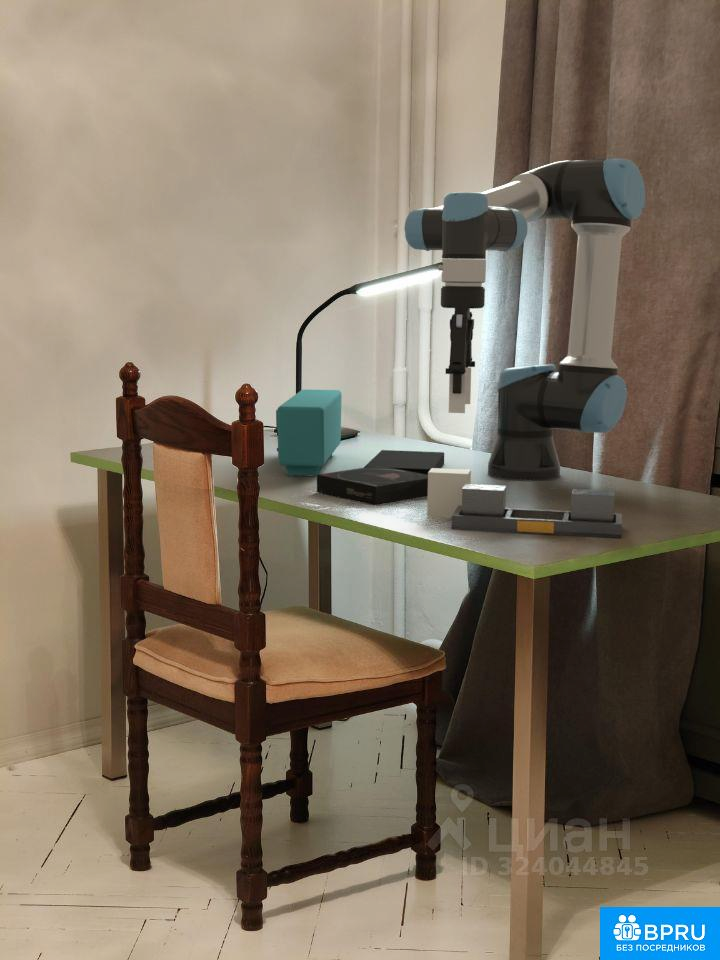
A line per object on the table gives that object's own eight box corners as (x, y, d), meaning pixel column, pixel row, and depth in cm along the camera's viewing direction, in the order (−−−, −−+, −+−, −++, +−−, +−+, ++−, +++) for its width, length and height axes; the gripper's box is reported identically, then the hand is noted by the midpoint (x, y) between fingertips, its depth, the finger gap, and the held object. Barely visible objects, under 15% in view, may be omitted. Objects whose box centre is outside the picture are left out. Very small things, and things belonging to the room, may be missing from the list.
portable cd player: (439, 496, 237) (439, 476, 236) (375, 508, 226) (375, 486, 225) (380, 484, 249) (380, 465, 248) (316, 494, 237) (316, 474, 237)
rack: (458, 518, 215) (458, 481, 214) (621, 526, 209) (623, 488, 208) (451, 529, 206) (452, 490, 205) (621, 538, 200) (623, 499, 199)
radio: (297, 453, 286) (297, 388, 283) (341, 454, 285) (341, 389, 282) (272, 478, 252) (272, 406, 250) (323, 480, 251) (323, 407, 249)
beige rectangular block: (430, 511, 220) (431, 468, 219) (469, 513, 219) (470, 469, 218) (427, 516, 216) (428, 472, 215) (466, 518, 215) (467, 474, 213)
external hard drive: (444, 465, 272) (444, 452, 272) (432, 483, 250) (432, 469, 249) (380, 463, 274) (381, 450, 274) (363, 481, 252) (363, 466, 251)
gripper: (447, 283, 222) (444, 399, 226) (434, 285, 198) (431, 416, 202) (488, 284, 221) (485, 400, 225) (480, 286, 197) (477, 417, 201)
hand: (459, 408), depth 213 cm, fingers open, 13 cm apart
